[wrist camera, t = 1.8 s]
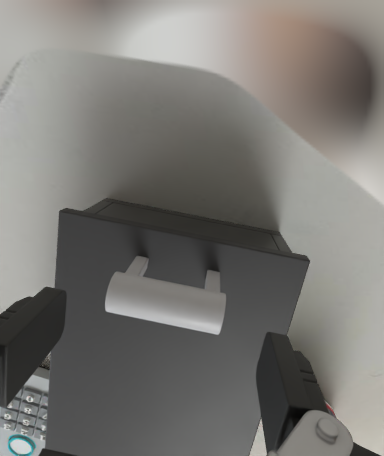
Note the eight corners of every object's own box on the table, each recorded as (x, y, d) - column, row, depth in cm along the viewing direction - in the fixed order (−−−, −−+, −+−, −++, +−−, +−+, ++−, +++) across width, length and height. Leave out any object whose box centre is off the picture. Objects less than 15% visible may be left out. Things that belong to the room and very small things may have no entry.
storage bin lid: (65, 207, 18) (3, 236, 13) (306, 255, 18) (342, 304, 13) (49, 440, 23) (1, 527, 18) (237, 481, 23) (242, 582, 18)
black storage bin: (105, 197, 25) (65, 220, 18) (280, 232, 25) (302, 267, 18) (87, 372, 30) (50, 439, 23) (233, 403, 29) (237, 480, 23)
